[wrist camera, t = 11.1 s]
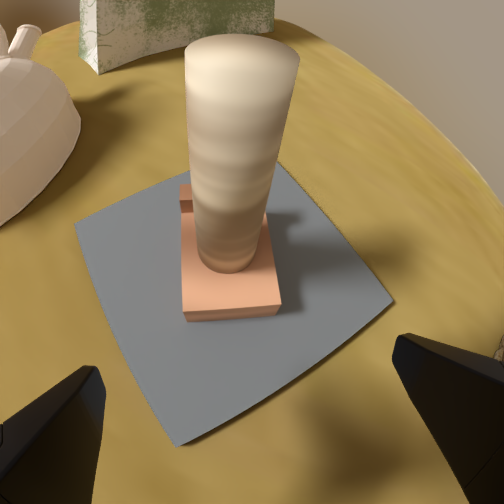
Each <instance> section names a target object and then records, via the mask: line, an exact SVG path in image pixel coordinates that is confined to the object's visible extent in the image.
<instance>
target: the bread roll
mask: <svg viewBox="0 0 504 504" xmlns="http://www.w3.org/2000/svg"><path fill="white" fill-rule="evenodd" d="M494 359H497V360H498V361H499V360H501V361H504V336H503V338H502V340H501V343H500V346H499V350H497V351H496V352H495V355H494Z"/></svg>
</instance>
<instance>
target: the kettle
mask: <svg viewBox="0 0 504 504" xmlns="http://www.w3.org/2000/svg"><path fill="white" fill-rule="evenodd" d="M41 35H42V33H41V30H40V28H38V27H36V26H33V25H22V26H20V27H19V28H18V29H17V34H16V35H15V37H14V40H13V42H12V43H11V46H10V48H9V50H8V41H7V37H6V33H5V30H4V29H3V28H2V26H1V25H0V226H2V225H3V224H4V223H5V222H7V221H8V220H10V219H11V218H12V217H14V216H15V215H16V214H18V213H19V212H21V211H22V210H23V209H24V208H25V207H26V206H27V205H28V204H29V203H30V202H31V201H32V200H33V199H34V198H35V197H36V196H38V195H39V194H40V193H41V192H42V191H43V190H44V188H45V187H46V186H47V185H48V184H49V182H50V181H51V180H52V179H53V178H54V177H55V175H56V174H57V173H58V172H59V171H60V169H61V168H62V166H63V165H64V163H65V161H66V160H67V158H68V157H69V155H70V154H71V152H72V151H73V149H74V146H75V144H76V141H77V139H78V136H79V134H80V128H81V117H80V116H79V114H78V112H77V110H76V108H75V106H74V104H73V101H72V99H71V97H70V94H69V92H68V90H67V88H66V86H65V84H64V82H63V81H62V80H61V79H60V78H59V77H58V76H57V75H56V74H55V73H54V72H53V71H52V70H51V69H49V68H47V67H45V66H43V65H41V64H38V63H36V62H34V61H31V60H30V58H31V56H32V53H33V50H34V48H35V45H36V43H37V41H38V38H39V37H40V36H41Z"/></svg>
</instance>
